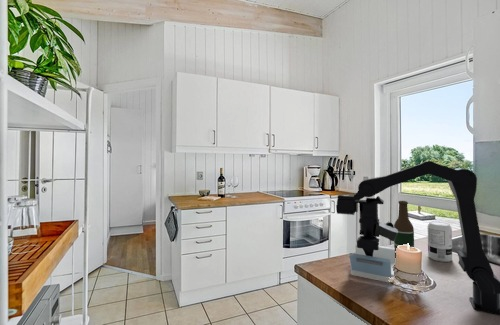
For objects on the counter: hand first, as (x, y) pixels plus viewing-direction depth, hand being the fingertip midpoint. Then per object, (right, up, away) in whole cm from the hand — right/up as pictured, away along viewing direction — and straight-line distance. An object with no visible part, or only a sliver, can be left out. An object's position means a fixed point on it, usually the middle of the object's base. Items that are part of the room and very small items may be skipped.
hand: (370, 260), depth 87 cm
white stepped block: (+6, -8, +9) cm, 13 cm away
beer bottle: (+27, -8, +25) cm, 38 cm away
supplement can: (+39, -7, +20) cm, 45 cm away
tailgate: (+1, -5, +2) cm, 6 cm away
